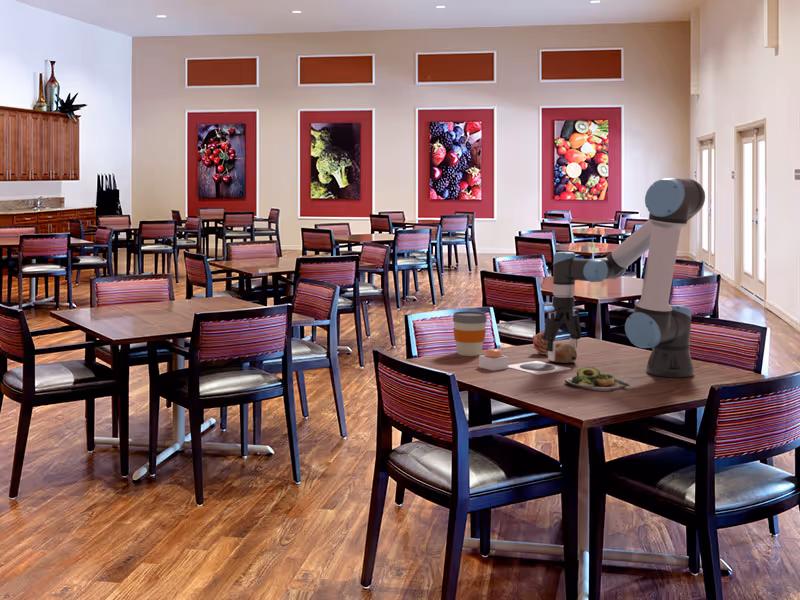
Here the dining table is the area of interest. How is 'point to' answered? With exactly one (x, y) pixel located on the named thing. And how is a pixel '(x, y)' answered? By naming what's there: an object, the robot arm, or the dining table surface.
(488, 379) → the dining table surface
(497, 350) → the button
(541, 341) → the flower
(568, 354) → the bread roll
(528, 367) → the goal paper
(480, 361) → the button housing
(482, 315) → the reusable coffee cup
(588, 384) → the salad plate
